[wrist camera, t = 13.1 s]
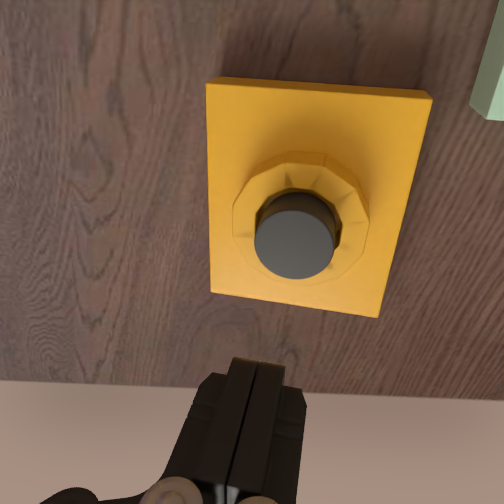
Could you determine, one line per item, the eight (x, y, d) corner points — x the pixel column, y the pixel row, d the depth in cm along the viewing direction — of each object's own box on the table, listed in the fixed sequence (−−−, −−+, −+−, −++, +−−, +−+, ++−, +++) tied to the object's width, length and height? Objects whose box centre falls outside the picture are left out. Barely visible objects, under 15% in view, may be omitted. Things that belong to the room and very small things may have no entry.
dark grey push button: (330, 262, 20) (328, 285, 19) (260, 252, 21) (252, 274, 19) (341, 196, 19) (340, 215, 17) (263, 187, 19) (255, 204, 17)
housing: (376, 295, 25) (379, 339, 22) (220, 272, 27) (201, 310, 23) (425, 90, 19) (441, 107, 16) (218, 75, 21) (192, 89, 17)
